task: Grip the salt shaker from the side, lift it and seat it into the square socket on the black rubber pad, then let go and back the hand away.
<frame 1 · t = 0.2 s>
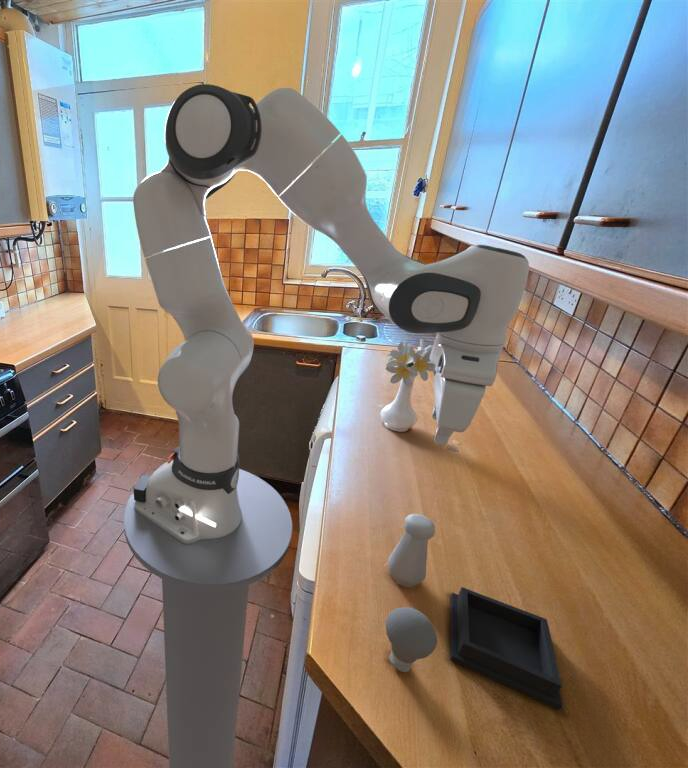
hand: (438, 429, 70), 24 cm above the worktop, tool pointing down, fingers open, 8 cm apart
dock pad: (498, 646, 60), on the worktop
salt shaker: (402, 578, 70), on the worktop
light bulb: (398, 665, 58), on the worktop
flower vase: (397, 428, 116), on the worktop
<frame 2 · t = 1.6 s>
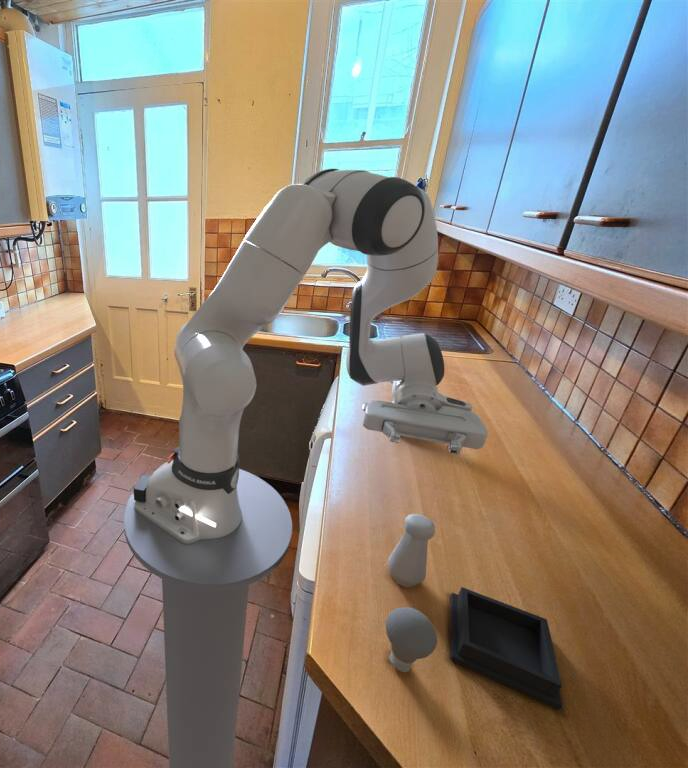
hand: (424, 444, 72), 20 cm above the worktop, tool horizontal, fingers open, 8 cm apart
nothing on the worktop moved.
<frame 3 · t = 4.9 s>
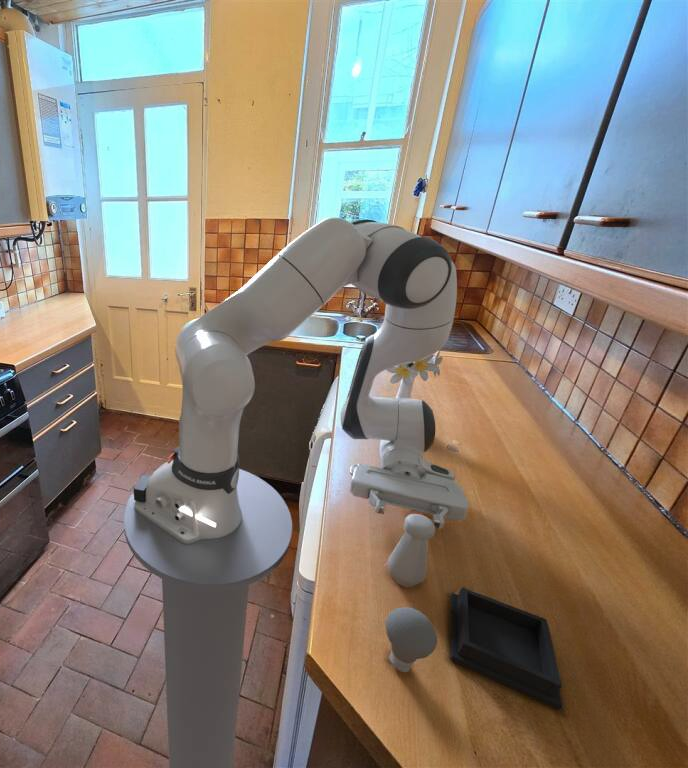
hand: (408, 517, 74), 7 cm above the worktop, tool horizontal, fingers open, 8 cm apart
nothing on the worktop moved.
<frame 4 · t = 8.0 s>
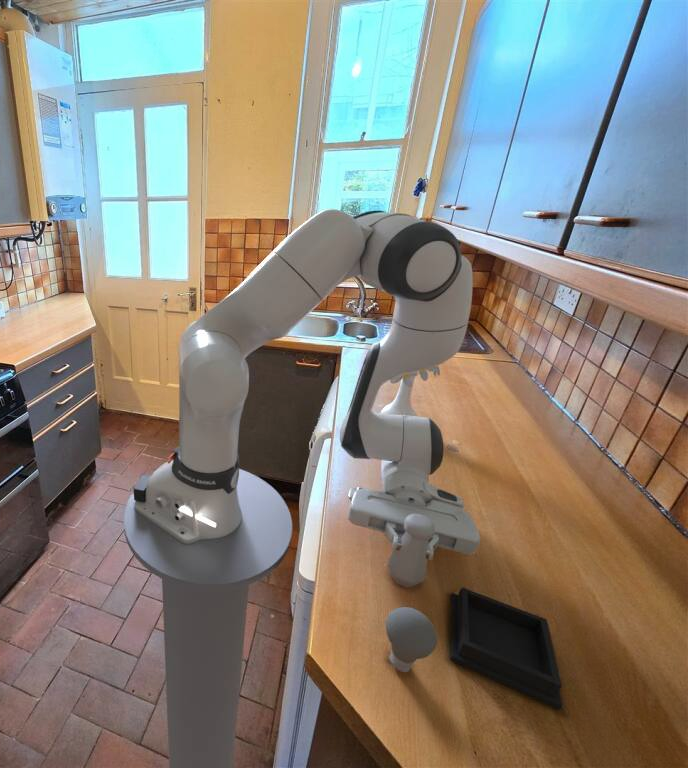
hand: (412, 551, 67), 7 cm above the worktop, tool horizontal, fingers closed on salt shaker, 3 cm apart
salt shaker: (402, 578, 70), on the worktop, touching gripper
everything else where it was.
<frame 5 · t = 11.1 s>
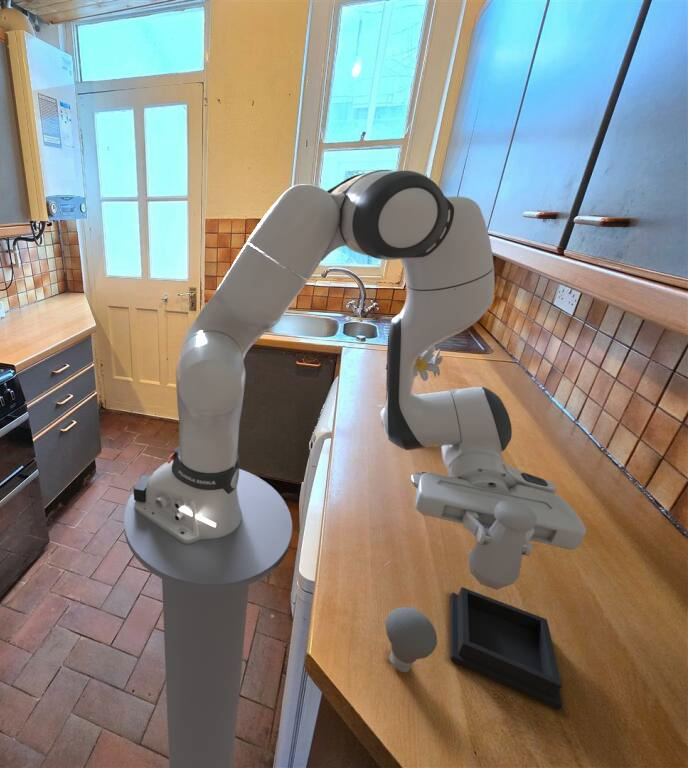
hand: (505, 546, 55), 17 cm above the worktop, tool horizontal, fingers closed on salt shaker, 3 cm apart
salt shaker: (487, 578, 59), point 10 cm above the worktop, touching gripper
everything else where it was.
when the fingers open (8 cm above the worktop, at t = 14.4 s): salt shaker stays where it is, resting on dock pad.
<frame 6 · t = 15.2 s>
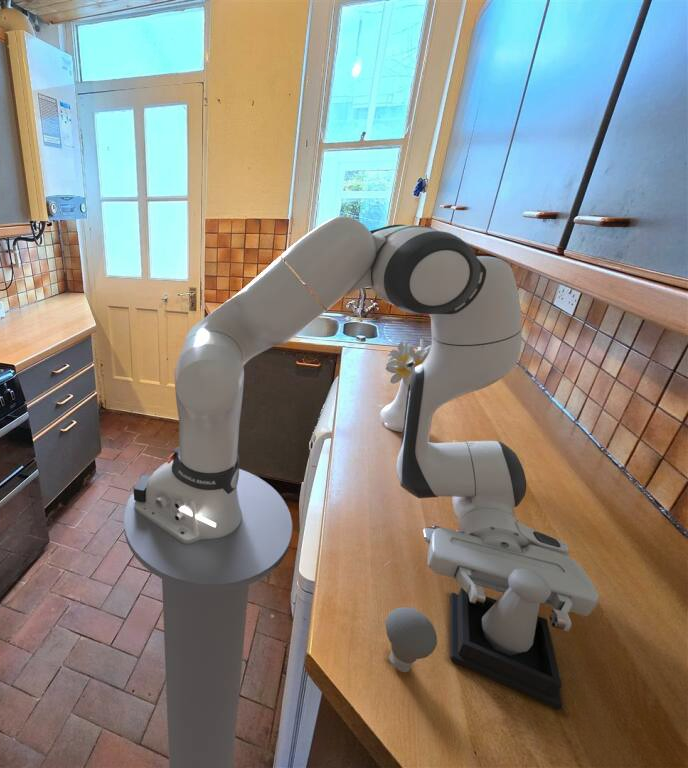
hand: (519, 613, 55), 8 cm above the worktop, tool horizontal, fingers open, 8 cm apart
salt shaker: (500, 642, 59), point 1 cm above the worktop, touching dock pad
everything else where it was.
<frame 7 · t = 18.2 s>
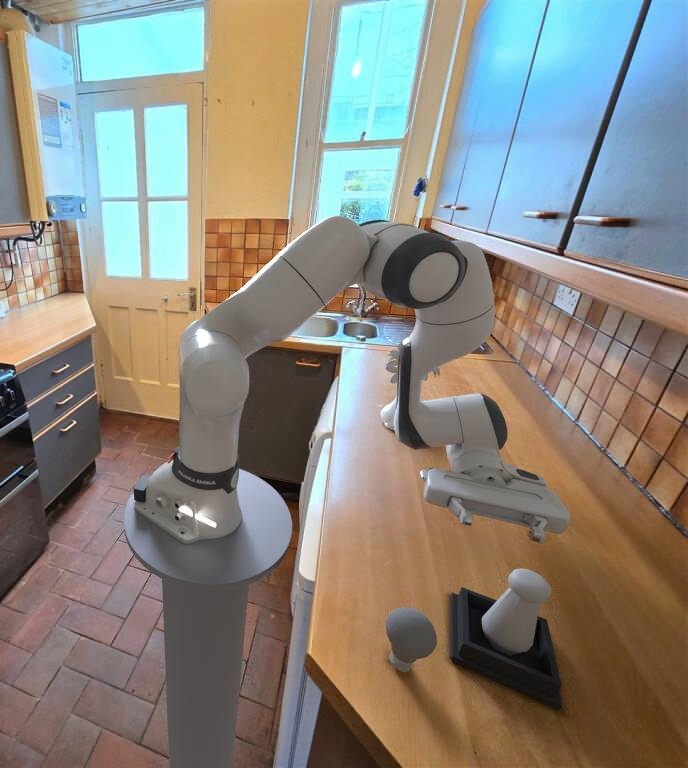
hand: (501, 530, 65), 12 cm above the worktop, tool horizontal, fingers open, 8 cm apart
nothing on the worktop moved.
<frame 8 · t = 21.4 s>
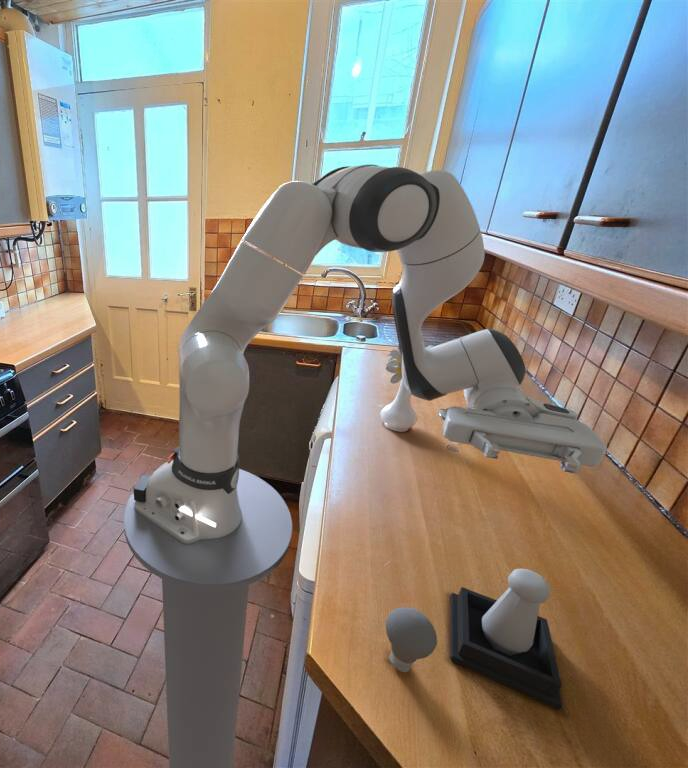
hand: (531, 461, 59), 25 cm above the worktop, tool horizontal, fingers open, 8 cm apart
nothing on the worktop moved.
at the end: salt shaker 0.1 cm off-centre on the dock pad, point 0.8 cm above the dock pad's base; salt shaker tilted 0°; the gripper is holding nothing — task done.
